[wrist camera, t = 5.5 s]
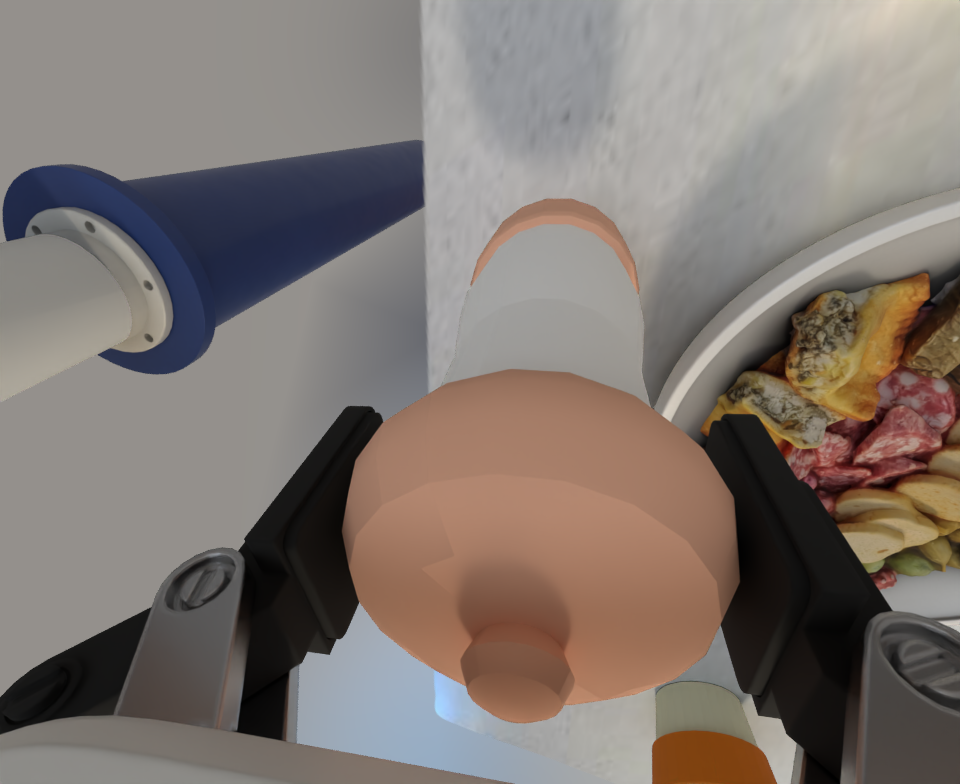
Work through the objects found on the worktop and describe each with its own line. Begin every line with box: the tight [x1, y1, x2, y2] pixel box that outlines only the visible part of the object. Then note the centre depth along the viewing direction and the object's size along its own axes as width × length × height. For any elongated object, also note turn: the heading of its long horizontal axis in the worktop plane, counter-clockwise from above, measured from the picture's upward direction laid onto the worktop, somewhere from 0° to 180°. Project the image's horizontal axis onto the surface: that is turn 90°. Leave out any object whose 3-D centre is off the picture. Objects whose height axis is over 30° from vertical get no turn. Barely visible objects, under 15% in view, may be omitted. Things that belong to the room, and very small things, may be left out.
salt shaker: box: [342, 199, 740, 723], centre depth 14 cm, size 7×7×19 cm
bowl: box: [654, 188, 960, 626], centre depth 25 cm, size 30×30×8 cm
